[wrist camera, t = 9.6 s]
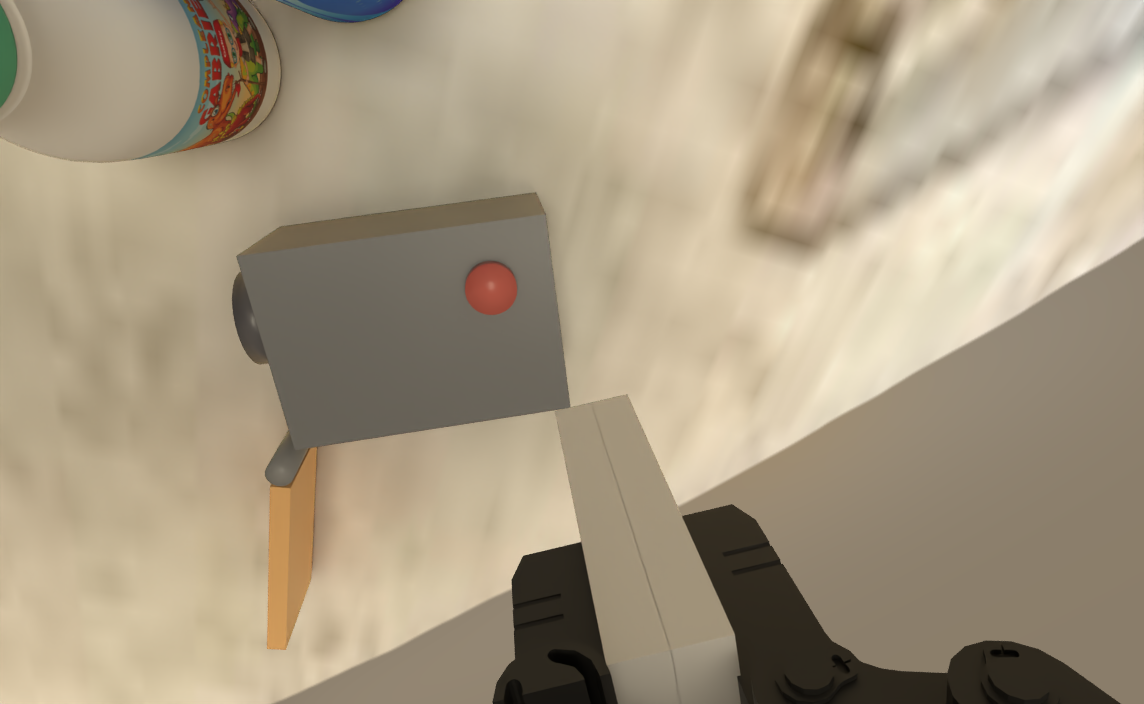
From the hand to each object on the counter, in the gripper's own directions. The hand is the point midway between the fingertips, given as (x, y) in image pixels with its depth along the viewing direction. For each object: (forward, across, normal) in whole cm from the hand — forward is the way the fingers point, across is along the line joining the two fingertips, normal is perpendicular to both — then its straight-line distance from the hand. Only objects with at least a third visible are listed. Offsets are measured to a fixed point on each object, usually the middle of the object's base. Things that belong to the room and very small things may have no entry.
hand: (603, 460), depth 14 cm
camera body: (+27, -7, -3) cm, 28 cm away
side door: (+26, -17, -13) cm, 34 cm away
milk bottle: (+27, -14, +11) cm, 32 cm away
